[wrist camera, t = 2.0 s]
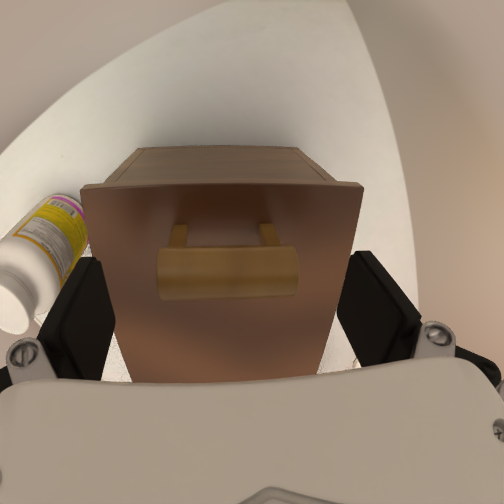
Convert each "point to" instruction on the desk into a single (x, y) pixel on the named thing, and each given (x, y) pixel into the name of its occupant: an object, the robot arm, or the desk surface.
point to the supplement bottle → (39, 260)
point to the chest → (218, 163)
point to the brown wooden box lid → (222, 273)
